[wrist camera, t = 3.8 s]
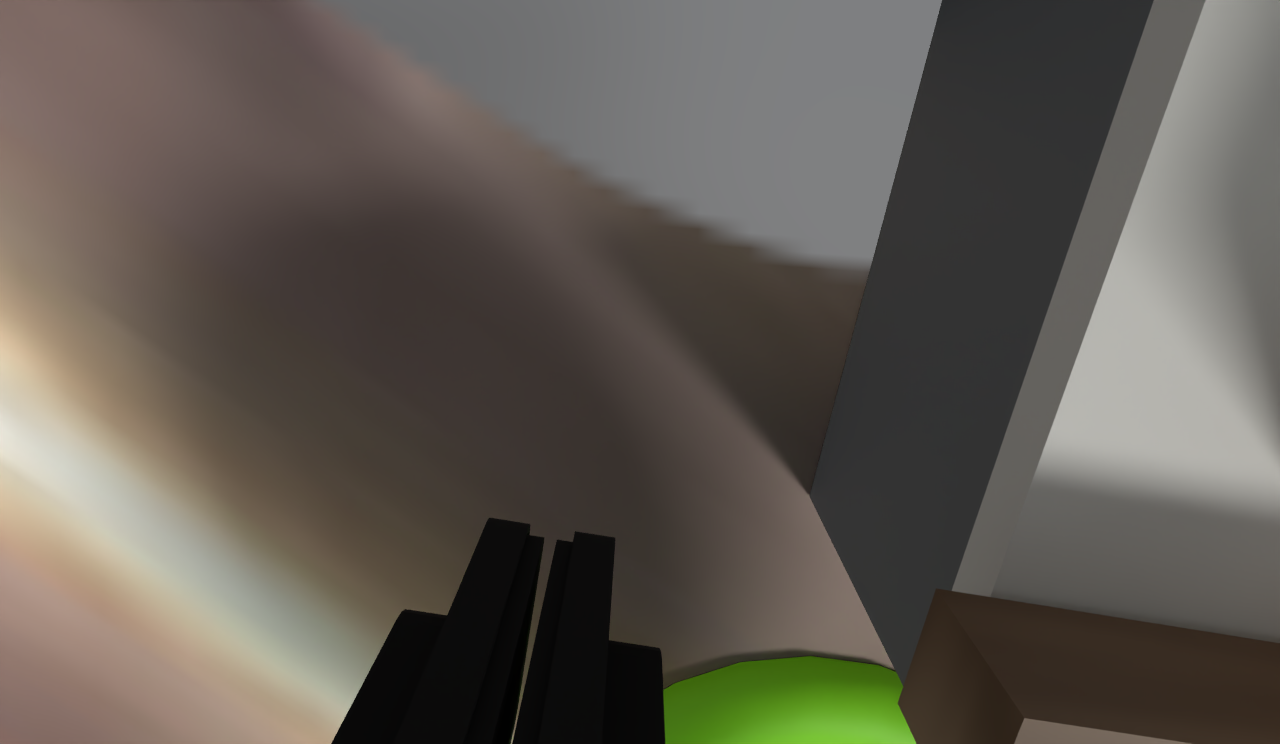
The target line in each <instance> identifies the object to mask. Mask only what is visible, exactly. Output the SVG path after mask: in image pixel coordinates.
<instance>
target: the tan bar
mask: <svg viewBox="0 0 1280 744" xmlns="http://www.w3.org/2000/svg"><path fill="white" fill-rule="evenodd" d="M898 705H899V707H900V709H901V712H902V714H903V716H904V718H905V720H906V722H907V724H908V727H909V729H910V731H911V733H912V735H913V737H914V739H915V742H916V744H1280V643H1275V642H1269V641H1262V640H1256V639H1250V638H1244V637H1237V636H1231V635H1225V634H1219V633H1212V632H1206V631H1200V630H1194V629H1187V628H1181V627H1175V626H1169V625H1162V624H1156V623H1150V622H1143V621H1137V620H1131V619H1125V618H1118V617H1112V616H1106V615H1100V614H1093V613H1087V612H1081V611H1075V610H1068V609H1062V608H1056V607H1049V606H1043V605H1037V604H1031V603H1024V602H1018V601H1012V600H1006V599H999V598H993V597H987V596H981V595H974V594H968V593H962V592H955V591H949V590H943V589H937V588H936V590H935V593H934V596H933V599H932V602H931V605H930V608H929V611H928V614H927V617H926V620H925V623H924V626H923V629H922V632H921V635H920V638H919V641H918V644H917V647H916V650H915V653H914V656H913V659H912V662H911V665H910V668H909V671H908V674H907V676H906V679H905V682H904V685H903V688H902V691H901V694H900V697H899V700H898Z"/></svg>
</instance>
